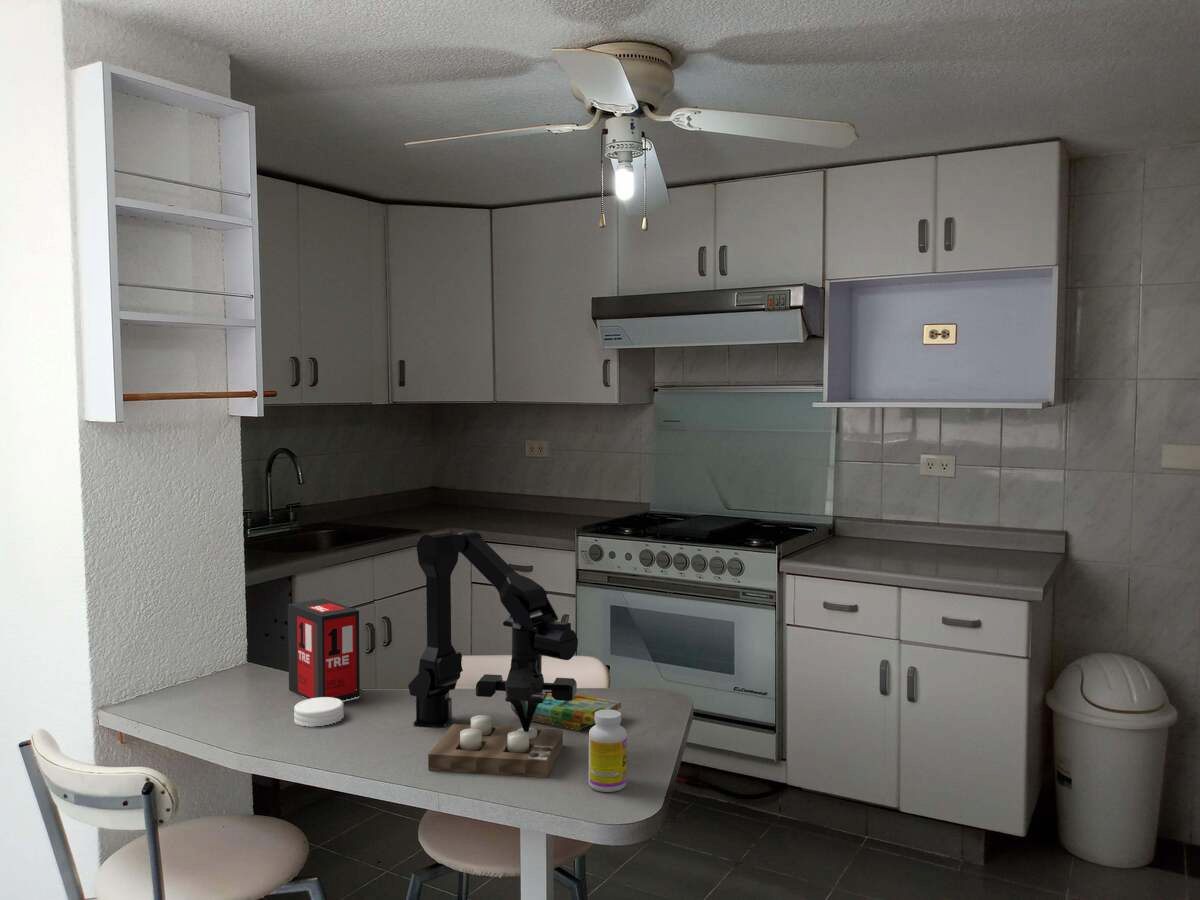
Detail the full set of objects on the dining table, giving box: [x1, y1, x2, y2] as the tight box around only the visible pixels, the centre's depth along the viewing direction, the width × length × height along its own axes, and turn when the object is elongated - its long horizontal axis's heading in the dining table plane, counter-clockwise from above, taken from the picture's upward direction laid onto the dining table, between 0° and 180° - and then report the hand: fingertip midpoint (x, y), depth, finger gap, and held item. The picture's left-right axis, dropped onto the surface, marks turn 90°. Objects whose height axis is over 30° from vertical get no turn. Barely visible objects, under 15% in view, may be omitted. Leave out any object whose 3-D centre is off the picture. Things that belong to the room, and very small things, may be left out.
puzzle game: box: [510, 693, 622, 731], centre depth 200 cm, size 12×5×20 cm
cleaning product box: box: [287, 598, 361, 701], centre depth 215 cm, size 16×9×20 cm, turn 43°
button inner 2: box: [517, 727, 537, 739], centre depth 182 cm, size 4×4×3 cm
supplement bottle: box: [588, 709, 628, 793], centre depth 165 cm, size 7×7×13 cm
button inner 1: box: [470, 714, 493, 736], centre depth 184 cm, size 4×4×3 cm
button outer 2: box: [507, 731, 529, 753], centre depth 175 cm, size 4×4×3 cm
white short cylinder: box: [293, 697, 345, 728], centre depth 199 cm, size 10×10×4 cm
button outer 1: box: [460, 728, 482, 750], centre depth 176 cm, size 4×4×3 cm
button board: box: [427, 723, 564, 778], centre depth 178 cm, size 22×16×3 cm
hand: (526, 731), depth 182 cm, fingers closed, pressing on button inner 2
